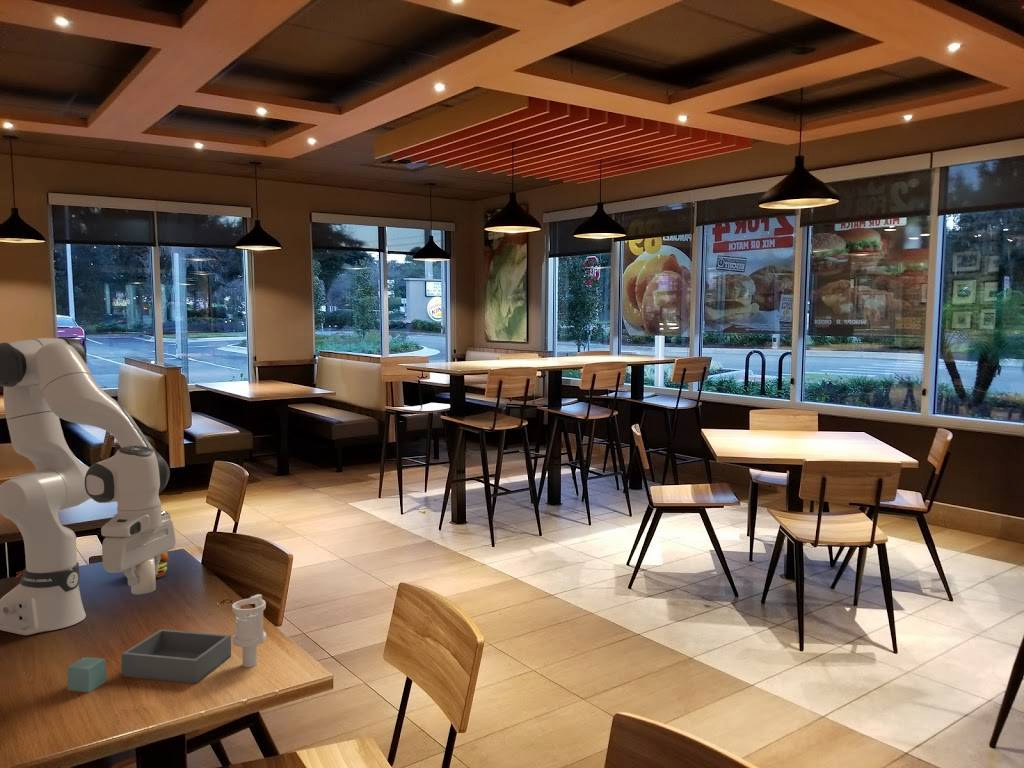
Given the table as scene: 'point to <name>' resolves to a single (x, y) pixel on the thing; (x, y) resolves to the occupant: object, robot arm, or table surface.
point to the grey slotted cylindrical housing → (249, 628)
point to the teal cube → (86, 674)
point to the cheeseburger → (162, 565)
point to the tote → (176, 656)
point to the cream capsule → (145, 577)
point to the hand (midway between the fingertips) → (143, 580)
